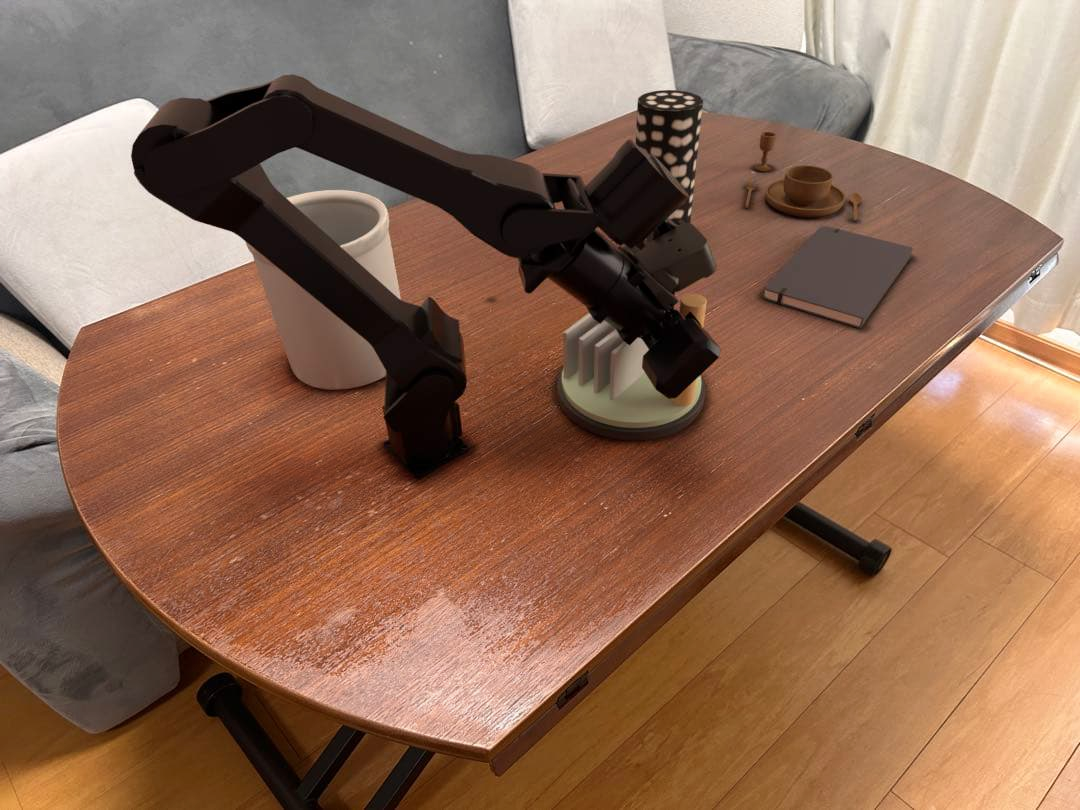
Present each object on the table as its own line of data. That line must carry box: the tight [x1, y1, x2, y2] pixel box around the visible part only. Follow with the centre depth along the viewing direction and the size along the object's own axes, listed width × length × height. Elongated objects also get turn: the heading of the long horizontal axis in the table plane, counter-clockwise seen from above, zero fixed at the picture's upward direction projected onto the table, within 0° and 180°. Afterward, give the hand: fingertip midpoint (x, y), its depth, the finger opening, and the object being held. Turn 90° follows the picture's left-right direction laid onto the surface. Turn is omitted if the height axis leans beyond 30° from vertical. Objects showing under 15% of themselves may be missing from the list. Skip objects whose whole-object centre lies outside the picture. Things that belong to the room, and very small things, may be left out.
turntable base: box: [556, 366, 706, 441], centre depth 83 cm, size 16×16×1 cm
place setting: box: [745, 131, 863, 221], centre depth 119 cm, size 18×20×6 cm
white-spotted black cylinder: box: [635, 89, 704, 250], centre depth 103 cm, size 8×8×20 cm
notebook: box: [762, 225, 914, 329], centre depth 100 cm, size 13×2×21 cm
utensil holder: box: [244, 189, 402, 391], centre depth 84 cm, size 15×15×18 cm
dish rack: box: [562, 293, 708, 428], centre depth 78 cm, size 15×15×13 cm
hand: (701, 356), depth 76 cm, fingers closed on dish rack, 2 cm apart
